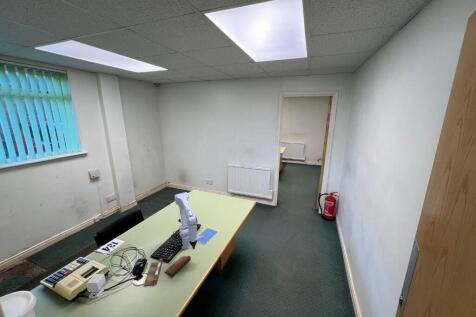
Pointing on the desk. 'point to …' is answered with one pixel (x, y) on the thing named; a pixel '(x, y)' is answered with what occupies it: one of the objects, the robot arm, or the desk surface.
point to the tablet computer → (207, 236)
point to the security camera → (96, 285)
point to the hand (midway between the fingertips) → (194, 248)
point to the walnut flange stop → (153, 273)
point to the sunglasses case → (177, 265)
